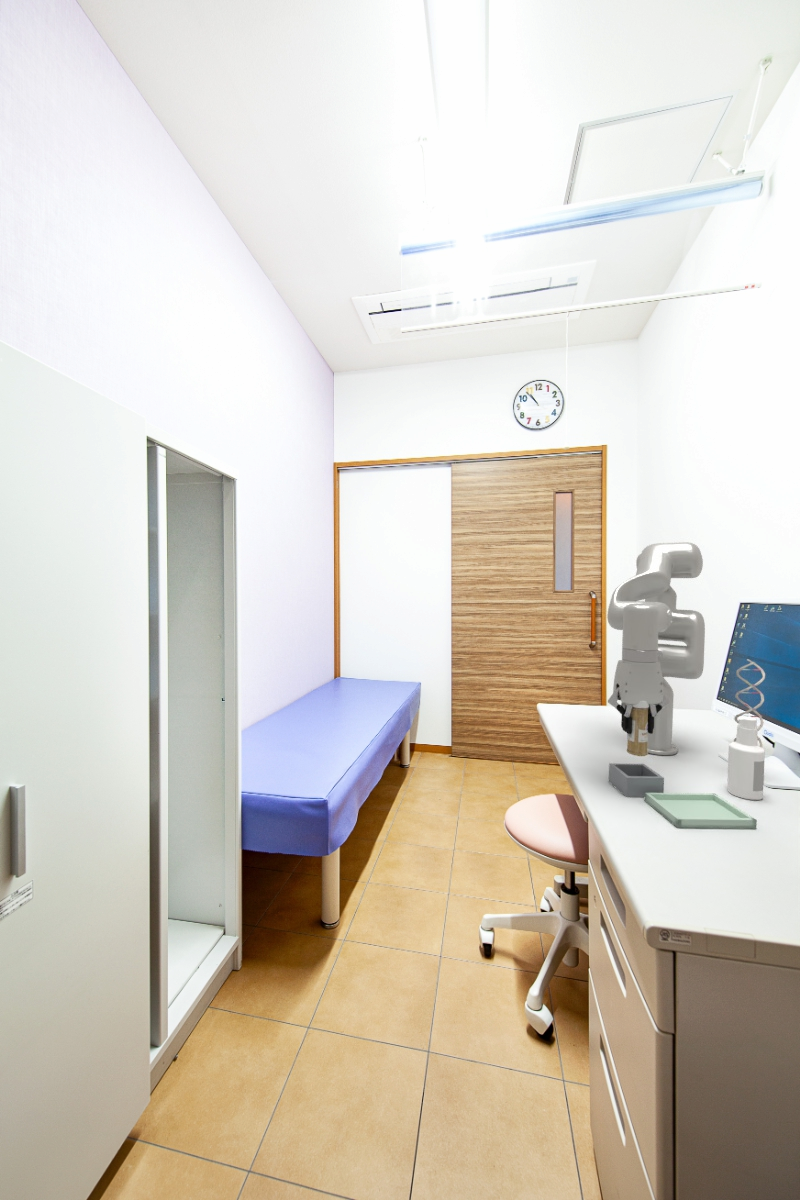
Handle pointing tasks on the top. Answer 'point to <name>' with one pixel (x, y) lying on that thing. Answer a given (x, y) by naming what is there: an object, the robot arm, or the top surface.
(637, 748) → the sprinkles bottle
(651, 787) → the holder
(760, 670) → the dna model
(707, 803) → the tray
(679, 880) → the top surface
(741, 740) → the white bottle
